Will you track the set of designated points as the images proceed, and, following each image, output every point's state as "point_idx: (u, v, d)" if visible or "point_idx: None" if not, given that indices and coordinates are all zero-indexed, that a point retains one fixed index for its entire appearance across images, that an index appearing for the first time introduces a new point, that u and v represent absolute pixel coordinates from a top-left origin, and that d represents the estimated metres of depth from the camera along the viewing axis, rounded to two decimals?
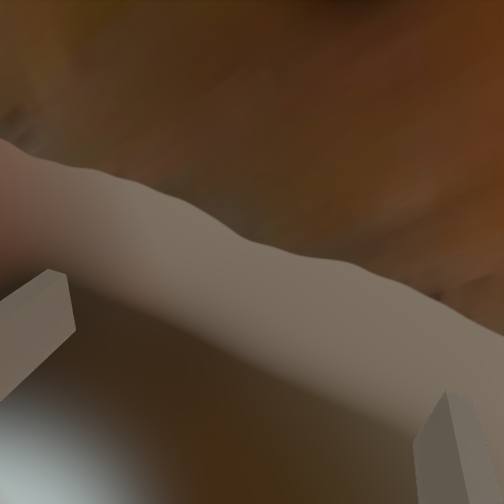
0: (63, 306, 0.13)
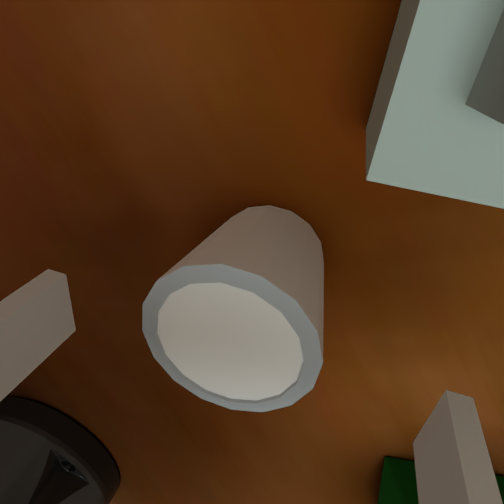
0: (63, 306, 0.13)
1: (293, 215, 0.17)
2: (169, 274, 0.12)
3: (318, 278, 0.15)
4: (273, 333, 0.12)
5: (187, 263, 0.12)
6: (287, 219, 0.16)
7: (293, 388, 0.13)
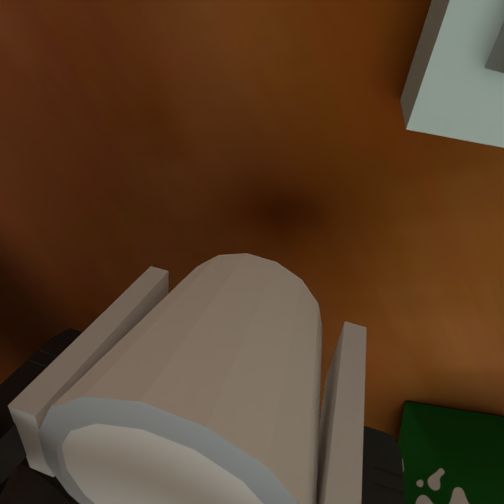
0: None
1: (279, 268, 0.12)
2: (65, 403, 0.08)
3: (311, 378, 0.10)
4: (234, 499, 0.08)
5: (92, 388, 0.07)
6: (269, 279, 0.11)
7: None
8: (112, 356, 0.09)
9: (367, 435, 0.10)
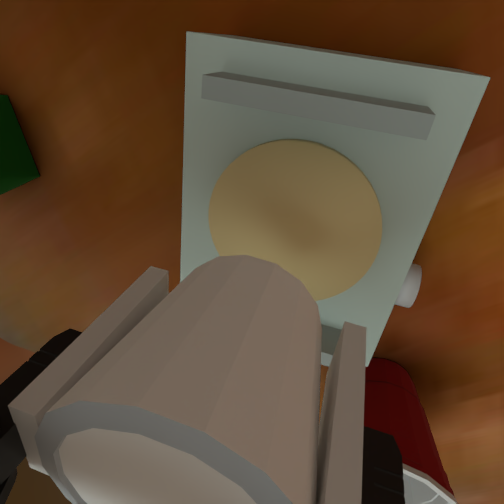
0: None
1: (278, 270, 0.12)
2: (62, 407, 0.07)
3: (310, 381, 0.10)
4: None
5: (89, 392, 0.07)
6: (268, 281, 0.11)
7: None
8: (109, 359, 0.09)
9: (367, 435, 0.10)
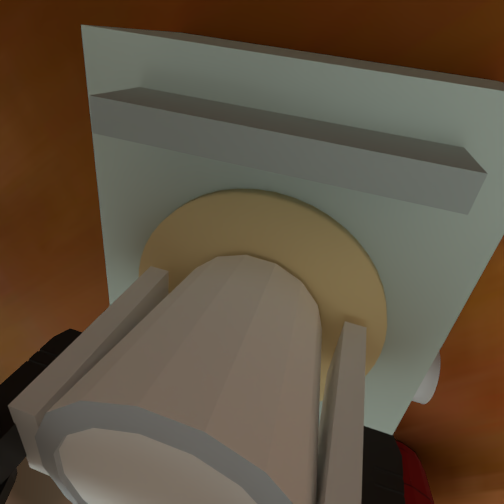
0: None
1: (278, 270, 0.12)
2: (62, 407, 0.07)
3: (310, 381, 0.10)
4: None
5: (89, 392, 0.07)
6: (268, 281, 0.11)
7: None
8: (110, 359, 0.09)
9: (367, 435, 0.10)
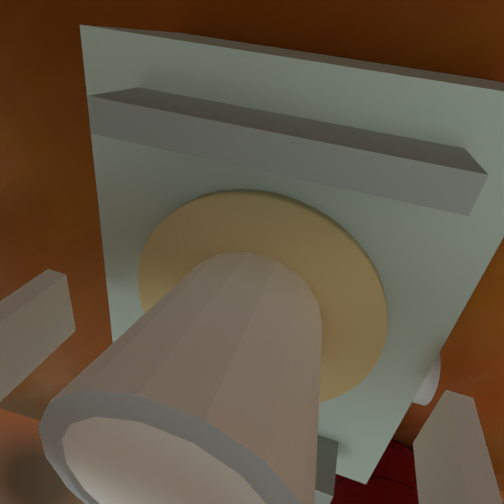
0: (63, 306, 0.13)
1: (279, 267, 0.12)
2: (65, 396, 0.08)
3: (310, 375, 0.10)
4: (232, 494, 0.08)
5: (92, 382, 0.07)
6: (269, 277, 0.12)
7: None
8: (112, 351, 0.09)
9: None
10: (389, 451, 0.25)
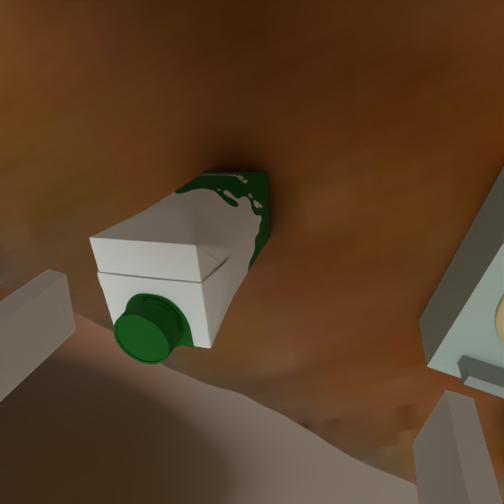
0: (63, 306, 0.13)
1: None
2: None
3: None
4: None
5: None
6: None
7: None
8: None
9: None
10: None
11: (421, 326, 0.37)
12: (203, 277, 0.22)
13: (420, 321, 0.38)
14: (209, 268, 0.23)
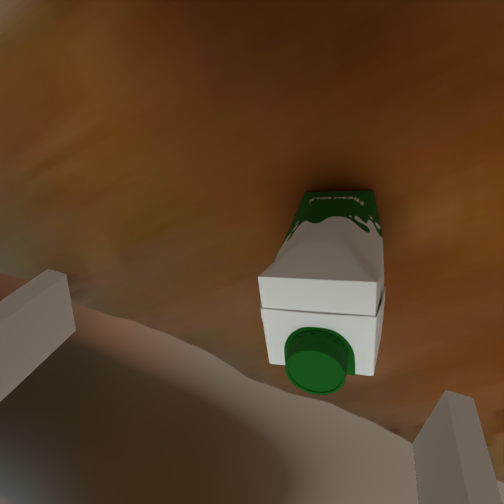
0: (63, 306, 0.13)
1: None
2: None
3: None
4: None
5: None
6: None
7: None
8: None
9: None
10: None
11: None
12: (376, 310, 0.23)
13: None
14: (377, 300, 0.24)
